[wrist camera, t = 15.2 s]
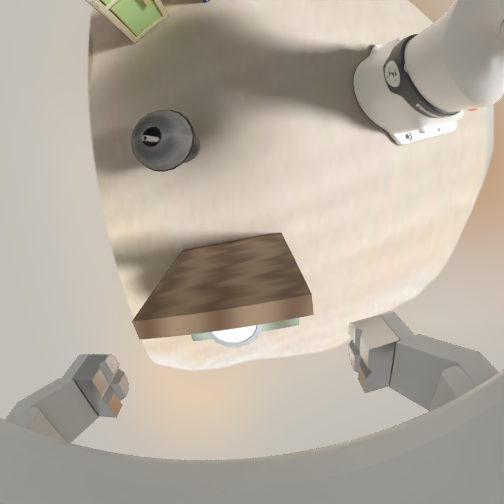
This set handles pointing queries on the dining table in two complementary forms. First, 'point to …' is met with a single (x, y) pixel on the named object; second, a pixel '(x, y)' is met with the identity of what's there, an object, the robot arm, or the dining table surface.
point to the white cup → (236, 335)
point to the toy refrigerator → (132, 15)
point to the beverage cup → (164, 140)
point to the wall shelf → (227, 291)
